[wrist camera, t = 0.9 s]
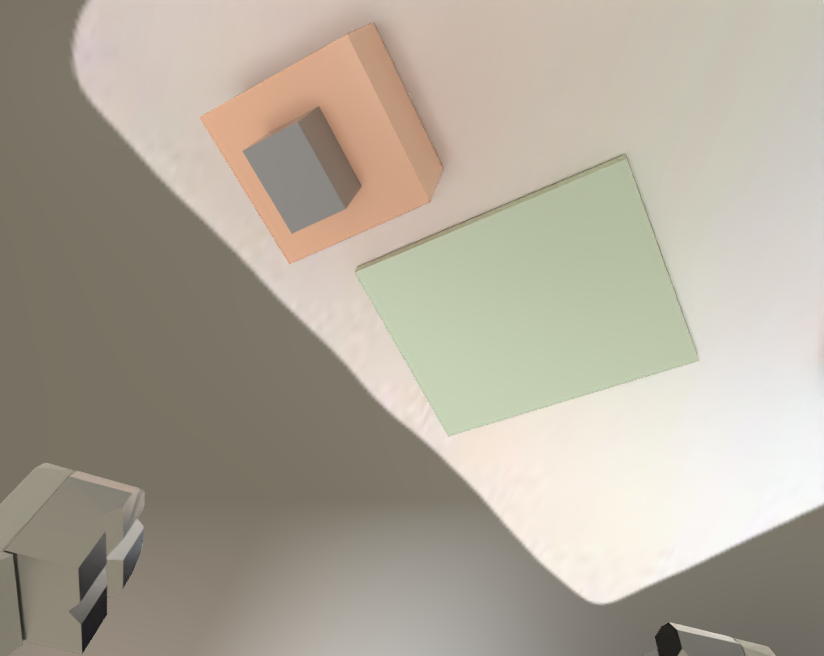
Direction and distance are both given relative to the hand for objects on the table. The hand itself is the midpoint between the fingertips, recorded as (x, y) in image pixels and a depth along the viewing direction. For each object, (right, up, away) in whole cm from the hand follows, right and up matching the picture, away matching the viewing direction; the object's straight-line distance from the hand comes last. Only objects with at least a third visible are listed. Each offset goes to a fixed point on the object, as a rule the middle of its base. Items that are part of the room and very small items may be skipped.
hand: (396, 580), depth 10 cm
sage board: (+9, +5, +39) cm, 40 cm away
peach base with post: (-4, +17, +34) cm, 38 cm away
